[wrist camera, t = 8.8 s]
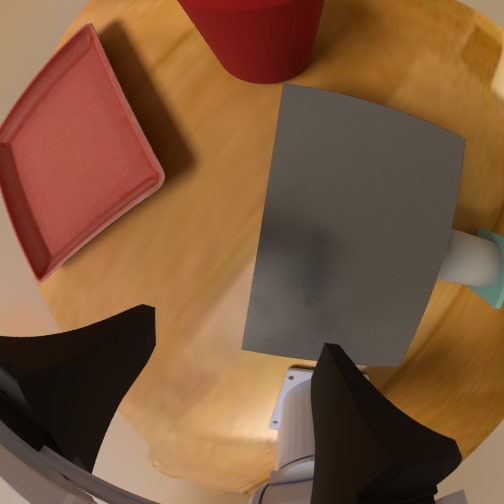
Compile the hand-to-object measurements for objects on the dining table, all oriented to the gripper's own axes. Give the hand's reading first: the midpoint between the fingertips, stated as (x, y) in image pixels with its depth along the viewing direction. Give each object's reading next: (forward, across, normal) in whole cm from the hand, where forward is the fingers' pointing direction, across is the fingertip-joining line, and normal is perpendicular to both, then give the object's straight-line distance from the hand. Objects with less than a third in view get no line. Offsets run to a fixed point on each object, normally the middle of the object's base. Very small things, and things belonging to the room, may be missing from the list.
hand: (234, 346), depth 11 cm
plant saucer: (+11, +19, -7) cm, 23 cm away
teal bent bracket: (+10, -19, -5) cm, 22 cm away
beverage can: (+10, +2, -16) cm, 19 cm away
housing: (+10, -5, -4) cm, 12 cm away
